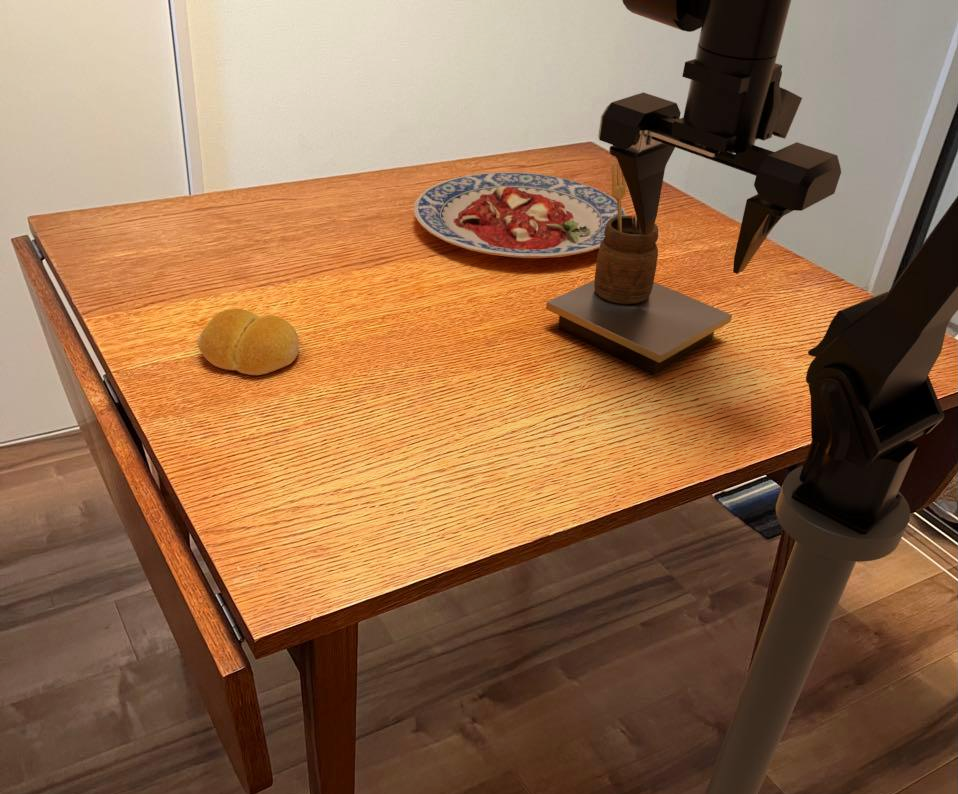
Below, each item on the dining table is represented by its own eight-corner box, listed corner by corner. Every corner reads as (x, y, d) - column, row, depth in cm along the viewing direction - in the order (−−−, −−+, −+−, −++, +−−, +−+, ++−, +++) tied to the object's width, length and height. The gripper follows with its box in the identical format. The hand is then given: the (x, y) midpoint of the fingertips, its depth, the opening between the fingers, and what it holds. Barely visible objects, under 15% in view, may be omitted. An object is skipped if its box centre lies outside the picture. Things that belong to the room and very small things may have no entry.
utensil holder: (619, 311, 90) (638, 188, 82) (579, 286, 94) (593, 166, 86) (663, 298, 93) (686, 178, 85) (623, 273, 97) (641, 157, 89)
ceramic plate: (369, 224, 111) (368, 200, 109) (508, 174, 126) (510, 152, 124) (533, 295, 98) (535, 269, 96) (666, 230, 113) (670, 206, 111)
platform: (725, 342, 93) (732, 314, 91) (655, 383, 86) (660, 355, 84) (616, 293, 100) (620, 267, 98) (543, 329, 93) (546, 301, 91)
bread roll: (278, 384, 83) (273, 345, 80) (189, 367, 85) (181, 328, 82) (315, 342, 89) (312, 304, 86) (231, 326, 91) (226, 288, 88)
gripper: (906, 61, 66) (837, 264, 77) (691, 5, 75) (655, 193, 86) (834, 90, 60) (769, 305, 71) (609, 25, 69) (581, 225, 80)
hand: (691, 252), depth 77 cm, fingers open, 9 cm apart
